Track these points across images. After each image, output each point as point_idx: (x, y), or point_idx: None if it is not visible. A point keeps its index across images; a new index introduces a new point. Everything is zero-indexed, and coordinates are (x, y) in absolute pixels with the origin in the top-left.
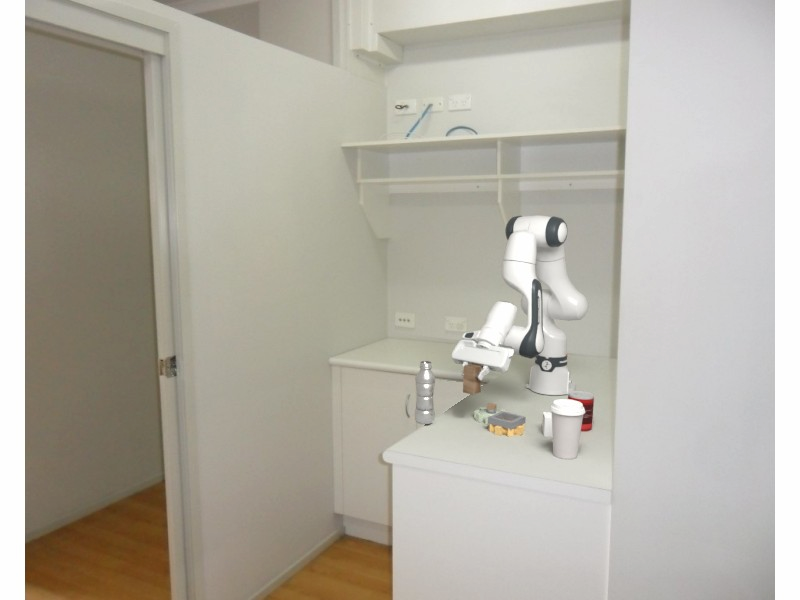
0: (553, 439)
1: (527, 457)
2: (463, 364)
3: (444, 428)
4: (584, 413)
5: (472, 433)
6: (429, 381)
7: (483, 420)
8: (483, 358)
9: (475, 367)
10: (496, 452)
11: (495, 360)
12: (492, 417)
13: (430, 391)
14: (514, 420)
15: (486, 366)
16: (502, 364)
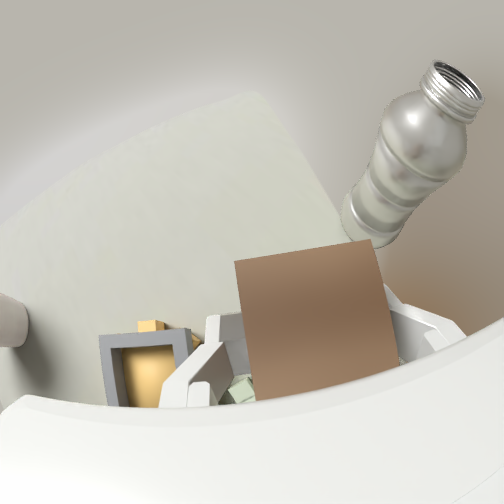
0: (2, 296)
1: (47, 255)
2: (445, 323)
3: (297, 240)
4: None
5: (211, 275)
6: (382, 118)
7: None
8: (243, 474)
9: (255, 308)
10: (96, 224)
11: (54, 456)
12: (171, 337)
13: (374, 159)
14: (107, 365)
15: (170, 407)
16: (5, 412)
